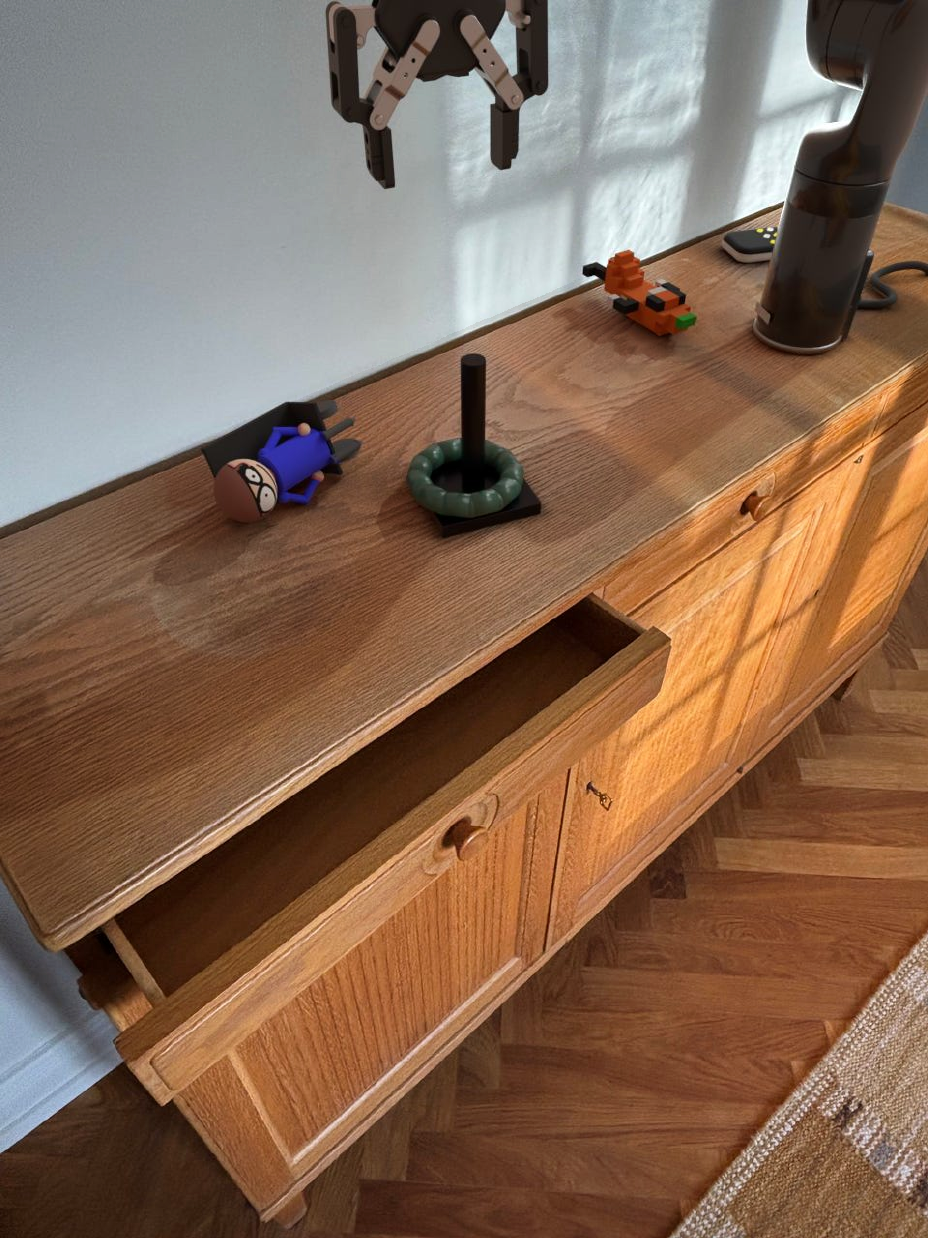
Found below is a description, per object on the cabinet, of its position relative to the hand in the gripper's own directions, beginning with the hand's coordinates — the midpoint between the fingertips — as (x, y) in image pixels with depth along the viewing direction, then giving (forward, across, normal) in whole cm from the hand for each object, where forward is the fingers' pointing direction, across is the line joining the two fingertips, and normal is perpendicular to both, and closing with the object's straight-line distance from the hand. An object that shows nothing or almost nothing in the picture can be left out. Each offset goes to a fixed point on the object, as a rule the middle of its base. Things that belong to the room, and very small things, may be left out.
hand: (444, 175), depth 60 cm
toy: (+26, +31, +20) cm, 45 cm away
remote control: (+27, +56, +30) cm, 69 cm away
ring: (+23, 0, -3) cm, 24 cm away
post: (+26, 0, -3) cm, 26 cm away
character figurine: (+26, -15, +3) cm, 30 cm away
